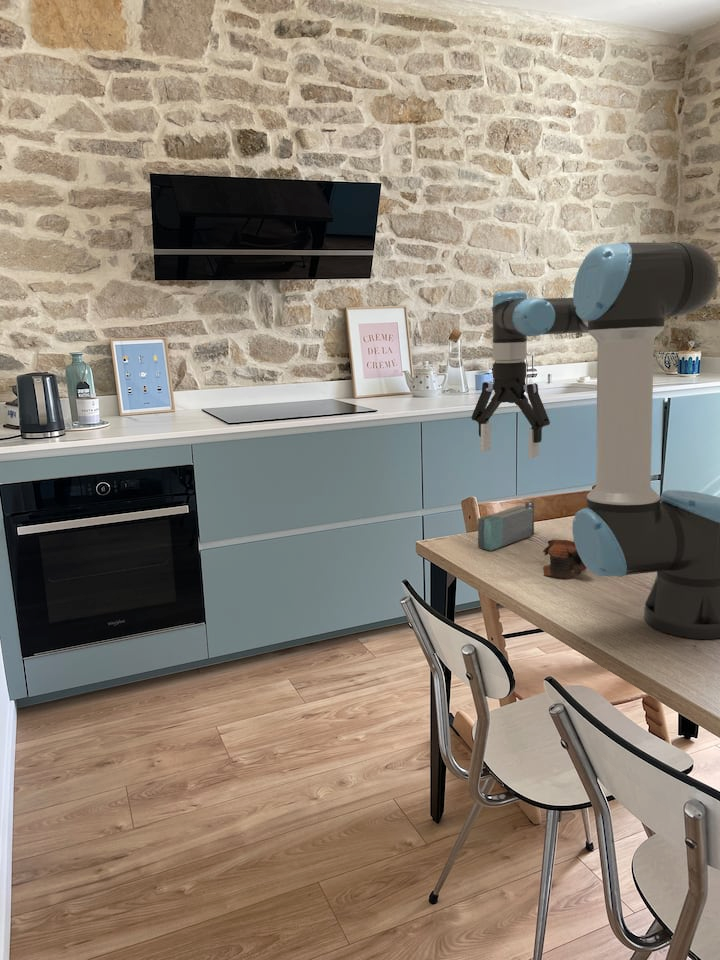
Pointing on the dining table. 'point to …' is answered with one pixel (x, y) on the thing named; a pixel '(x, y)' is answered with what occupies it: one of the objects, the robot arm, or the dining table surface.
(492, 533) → the right tong arm
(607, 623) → the dining table surface
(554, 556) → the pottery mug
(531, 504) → the pivot post
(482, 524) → the left tong arm
